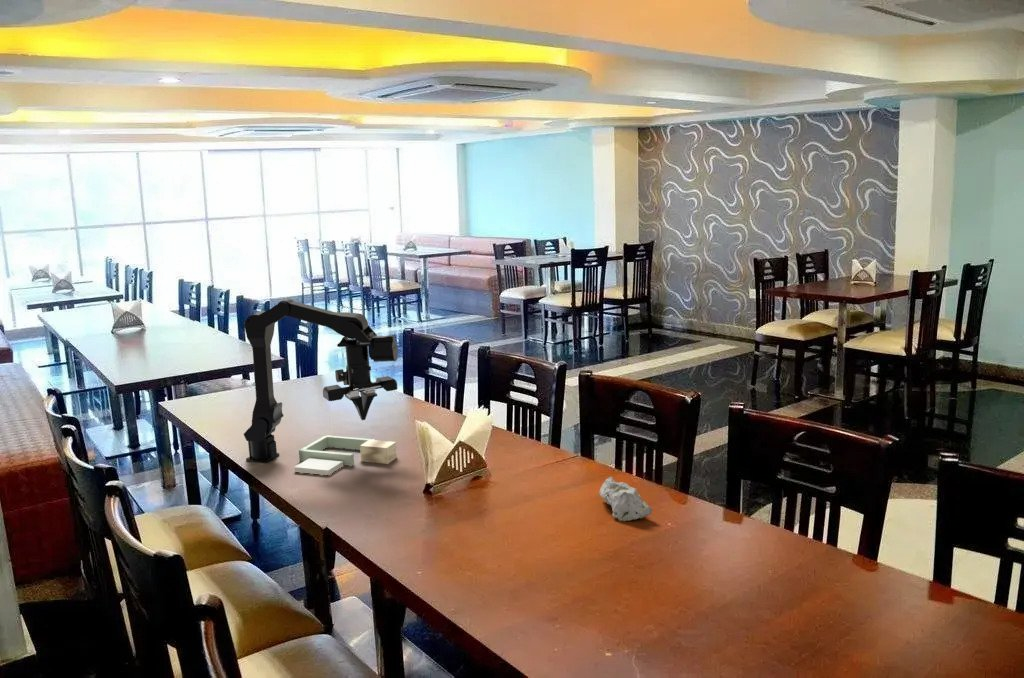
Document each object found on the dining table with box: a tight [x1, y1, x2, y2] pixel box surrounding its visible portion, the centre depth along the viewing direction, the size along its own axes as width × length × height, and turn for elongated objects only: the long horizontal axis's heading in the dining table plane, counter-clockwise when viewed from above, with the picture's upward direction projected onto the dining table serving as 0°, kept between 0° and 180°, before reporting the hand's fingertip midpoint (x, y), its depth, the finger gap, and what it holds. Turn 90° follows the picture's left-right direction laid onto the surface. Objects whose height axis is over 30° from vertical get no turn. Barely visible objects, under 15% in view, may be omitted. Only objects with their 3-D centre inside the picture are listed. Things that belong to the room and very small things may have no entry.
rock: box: [598, 476, 653, 522], centre depth 178 cm, size 16×7×7 cm, turn 23°
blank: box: [359, 439, 398, 465], centre depth 216 cm, size 8×5×4 cm, turn 71°
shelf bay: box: [298, 434, 377, 467], centre depth 220 cm, size 16×13×3 cm
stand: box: [293, 458, 344, 476], centre depth 210 cm, size 10×7×2 cm
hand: (363, 419), depth 216 cm, fingers closed
